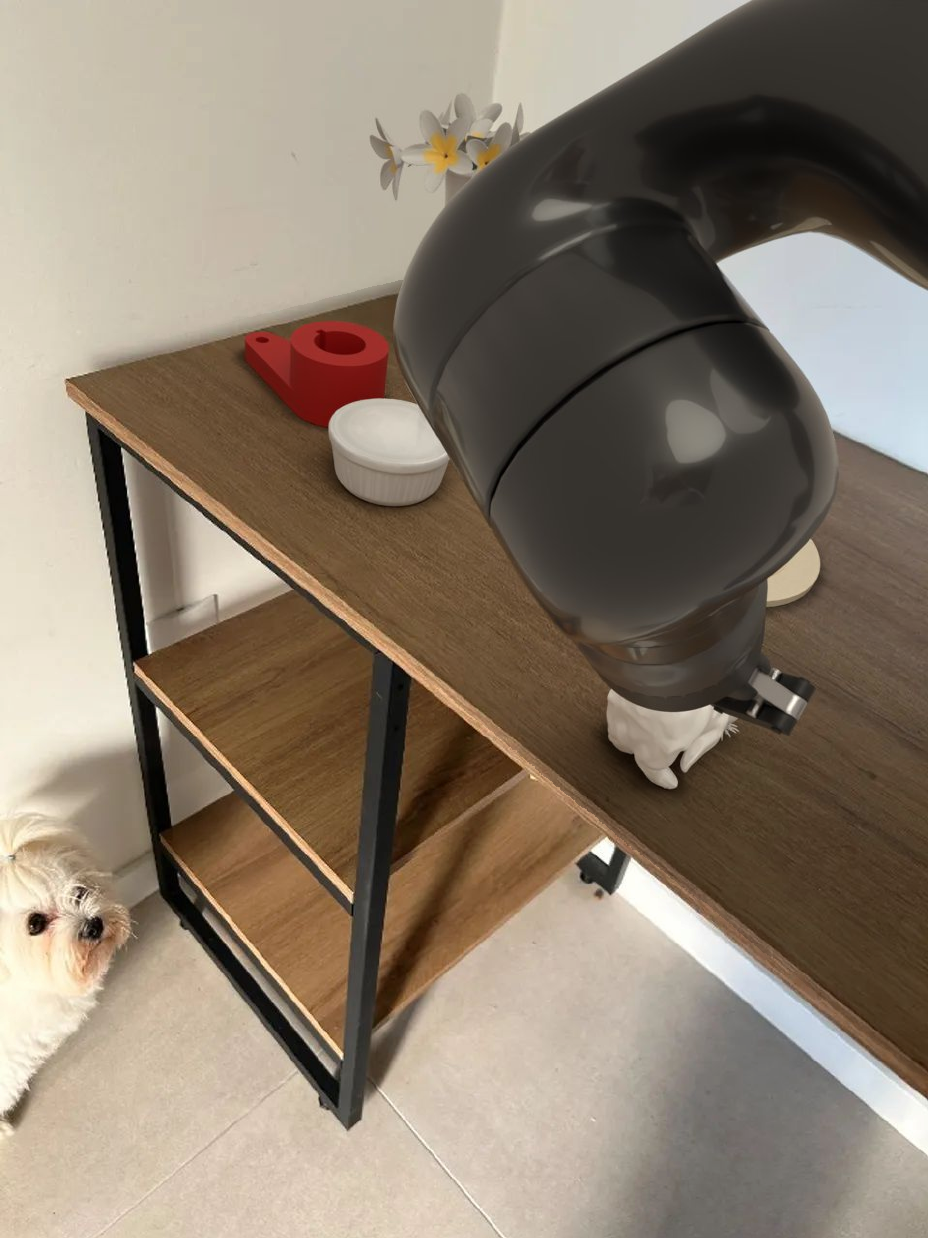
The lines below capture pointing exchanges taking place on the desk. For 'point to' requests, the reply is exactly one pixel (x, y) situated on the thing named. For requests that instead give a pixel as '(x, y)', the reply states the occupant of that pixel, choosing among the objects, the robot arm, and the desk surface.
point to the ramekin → (386, 452)
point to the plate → (794, 577)
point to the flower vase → (449, 146)
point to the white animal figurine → (664, 736)
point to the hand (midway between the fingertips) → (689, 680)
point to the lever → (321, 366)
